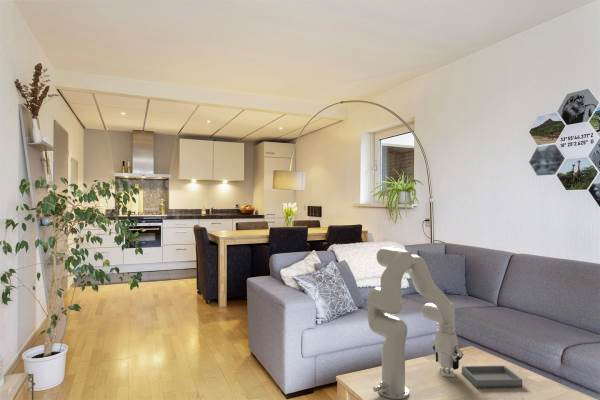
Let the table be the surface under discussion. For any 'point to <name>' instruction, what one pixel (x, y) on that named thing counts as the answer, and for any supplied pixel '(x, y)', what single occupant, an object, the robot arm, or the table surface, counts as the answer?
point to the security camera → (446, 364)
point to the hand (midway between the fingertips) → (447, 365)
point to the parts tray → (491, 377)
